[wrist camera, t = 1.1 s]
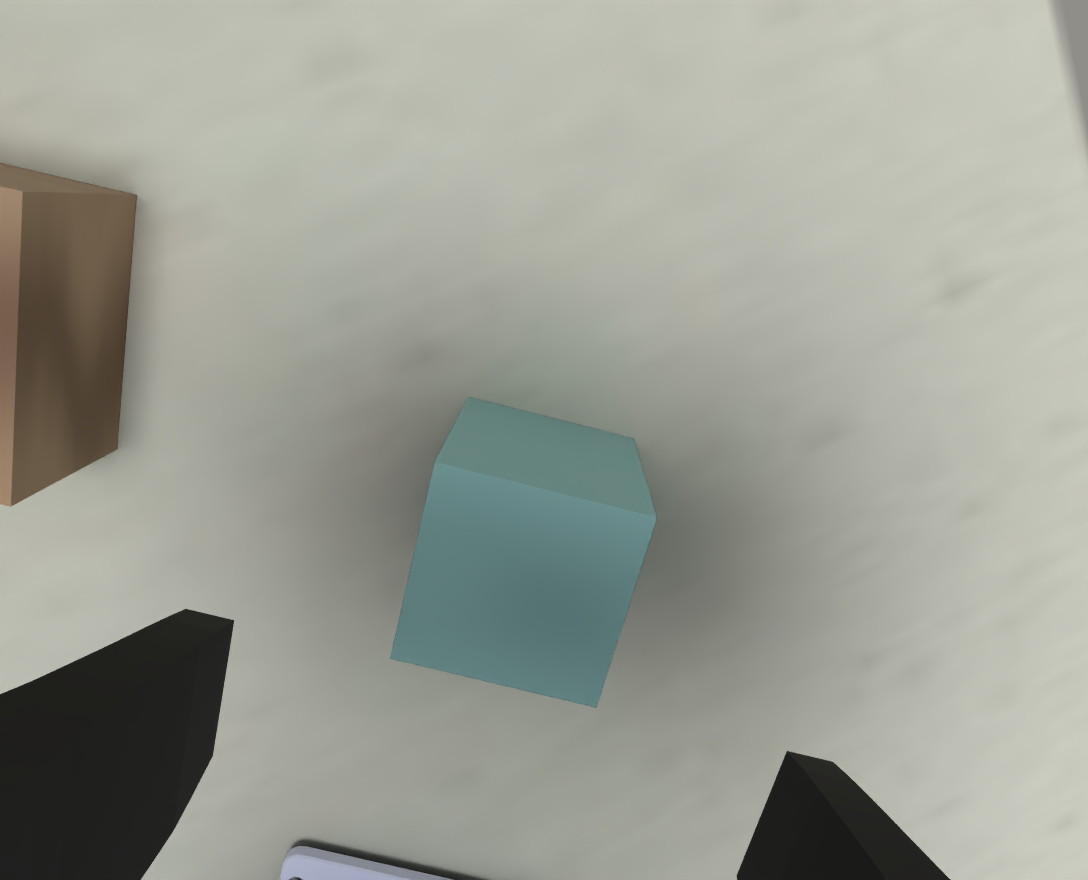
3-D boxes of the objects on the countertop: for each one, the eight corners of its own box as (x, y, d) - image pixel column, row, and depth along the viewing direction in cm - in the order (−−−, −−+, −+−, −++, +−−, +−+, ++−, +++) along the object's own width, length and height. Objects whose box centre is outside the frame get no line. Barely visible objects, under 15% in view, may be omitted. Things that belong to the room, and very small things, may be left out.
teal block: (588, 586, 20) (596, 707, 15) (433, 548, 20) (390, 658, 15) (633, 437, 19) (656, 517, 14) (468, 395, 18) (434, 461, 14)
